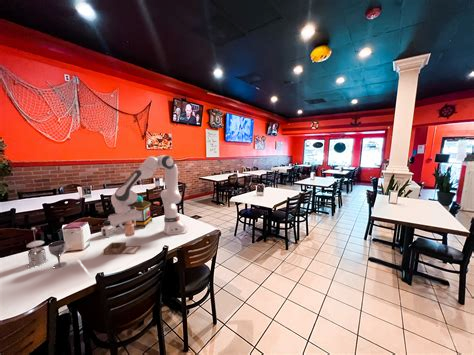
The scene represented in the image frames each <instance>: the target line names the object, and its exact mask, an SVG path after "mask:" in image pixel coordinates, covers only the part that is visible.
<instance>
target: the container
mask: <svg viewBox="0 0 474 355" xmlns="http://www.w3.org/2000/svg"><path fill="white" fill-rule="evenodd" d="M100 231H101V237H105V238H110V237H112V236H115V235H116V234H117V226H115V227H112V226H111V223H110V220H109V219H106V220H104V222H103V227H101V229H100Z"/></svg>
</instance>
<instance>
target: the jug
mask: <svg viewBox="0 0 474 355" xmlns="http://www.w3.org/2000/svg"><path fill="white" fill-rule="evenodd" d="M123 226H125V229H124V235H125V236H124V237H127V238H129V237H133V236H135V226H134V224H133V223H132V221H126V223H125V224H123Z"/></svg>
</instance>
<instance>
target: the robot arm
mask: <svg viewBox="0 0 474 355" xmlns="http://www.w3.org/2000/svg"><path fill="white" fill-rule="evenodd" d="M158 168H162V169H164V171H165V173H164V175H165V176H164V185H165V188H166V189H163V190H161V191H160V193H159V194H160V198H161V200H162V204H163V208H164V209H163V210H164V217H163V218H164V219H163V220H164V228H163V230H162V231H163V233H164V234H166V235H167V236H171V235H182V234H184V235H185V234H186V233H187V232H188V231H189V227H188V226H187V225H186V222H185V221H183V220H181V219H180V215H178V208H177V205H176V204H179V203H180V202H181V200H182V196H181V193H180V191H179V186H178V185H179V184H178V182H179V181H178V179H179V170H178V165H177V164H176V163H175V159H174V158H173V157H172V156H170V155H167V154H161V155H156V156H154V155H153V156H147V158H146V159H145V160H143V162H142V164H141V165H140V166H139V168H138V169H137V170H135V171H133V172H132V173H131V175H129V177H128V178H127V179H126V181H124V183H123V184H122V185H121V186H120V187H118V188H117V189H116V190H115V193H113V194H112V195H111V197H110V200H111V203H112V204H111V205H112V207H113V208H114V212H115V213H112V214H109V215H108V217H107V218H108V220H110V223H111V226H112V227H115V226H116V227H117V226H119V227H120V228H122V230H124V231H125V226H124V225H125V224H126V221H133V222H134V227H136V226H137V225H136V220H139V219H140V218H141V215H140V213H139V211H138V210H136V207H129V206H128V205H130V204H133V203H135V202H136V201H137V199H138V196H139V195H138V193H137V192H135V191H133V190H132V188H133V187H134V186H135V184H136V183H137V182H138V181H141V180H148V179H150V178H151V177H153V175H154V173H155V172H156V170H157V169H158Z"/></svg>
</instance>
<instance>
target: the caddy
mask: <svg viewBox="0 0 474 355" xmlns="http://www.w3.org/2000/svg"><path fill="white" fill-rule="evenodd" d="M141 247H142V245H127V242H125V241H122V242H121V241H120V242H117V241H116V242H113V241H112V242H111V243H110V244H108V245H107V246H106V247H105V248H103V254H102V255H103V256H106V255H107V256H108V255H109V256H112V255H115V256H117V255H136V253H137V252H138V251H139V250H140V249H141Z"/></svg>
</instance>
